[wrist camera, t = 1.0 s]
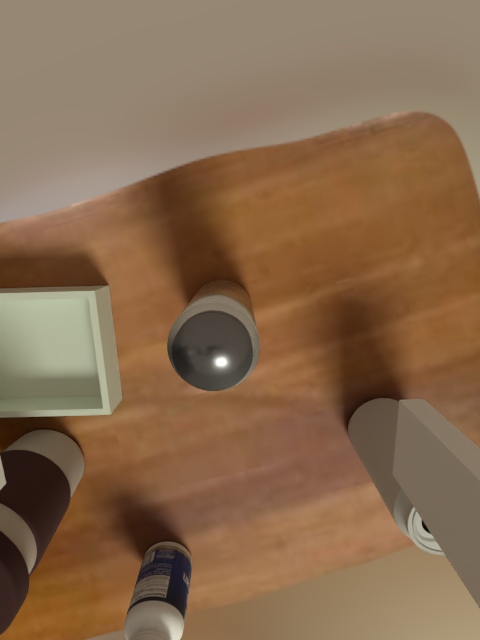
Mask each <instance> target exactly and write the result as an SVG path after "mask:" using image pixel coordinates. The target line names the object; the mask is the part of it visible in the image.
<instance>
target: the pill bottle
mask: <svg viewBox="0 0 480 640" xmlns="http://www.w3.org/2000/svg"><path fill="white" fill-rule="evenodd" d="M191 571H192V558H191V555H190V553H189V552H188V550H187V549H186V548H185V547H184V546H182V545H180V544H178V543H176V542H170V541H166V542H160V543H157V544H155V545H153V546H152V547H150V548H149V549H148V550H147V552H146V554H145V556H144V559H143V561H142V565H141V568H140V571H139V575H138V579H137V582H136V585H135V589H134V592H133V596H132V599H131V602H130V606H129V609H128V612H127V616H126V620H125V625H124V633H125V637H126V640H180V639H181V637H182V633H183V628H184V623H185V615H186V608H187V601H188V593H189V586H190V579H191Z"/></svg>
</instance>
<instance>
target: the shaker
mask: <svg viewBox="0 0 480 640" xmlns="http://www.w3.org/2000/svg"><path fill="white" fill-rule="evenodd" d="M167 349H168V355H169V359H170V362H171V364H172V366H173V368H174V369H175V371H176V372H177V373H178V375H179V376H180V377H181V378H182V379H183V380H185V381H186V382H187V383H189V384H190V385H192V386H194V387H196V388H199V389H202V390H207V391H220V390H224V389H228V388H231V387H234V386H236V385H238V384H239V383H241V382H242V381H244V380H245V379H246V378H247V377H248V376H249V375H250V374H251V372H252V371H253V369H254V368H255V366H256V364H257V361H258V358H259V353H260V342H259V337H258V332H257V327H256V322H255V317H254V312H253V307H252V303H251V299H250V297H249V295H248V293H247V292H246V291H245V290H244V288H242V287H241V286H240V285H239V284H237V283H235V282H233V281H229V280H214V281H211V282H209V283H207V284H205V285H204V286H202V287H201V288H200V289H199V290H198V292H197V293H196V294H195V296H194V297H193V298H192V300H191V301H190V302H189V304H188V305H187V306H186V308H185V309H184V310H183V312H182V313H181V314H180V316H179V317H178V318H177V320H176V321H175V323H174V324H173V326H172V328H171V330H170V333H169V336H168V343H167Z"/></svg>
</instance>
